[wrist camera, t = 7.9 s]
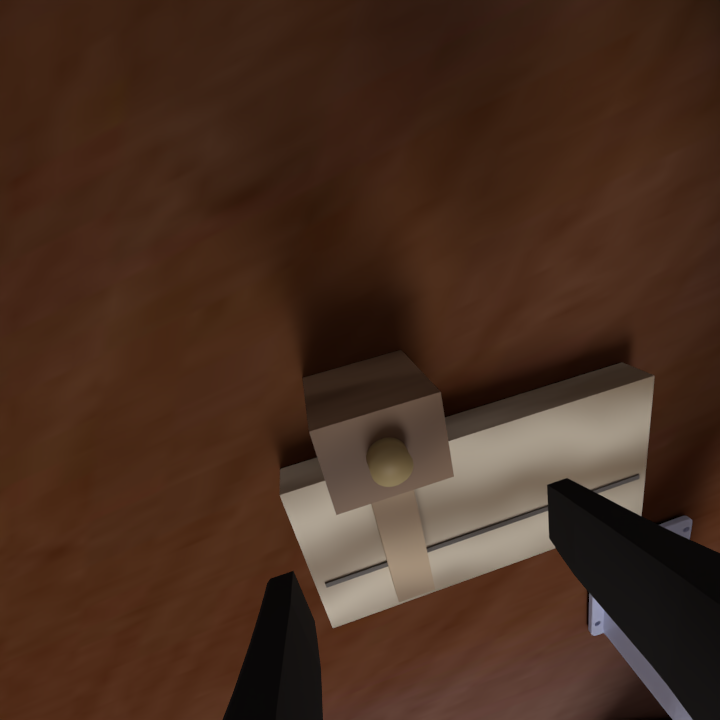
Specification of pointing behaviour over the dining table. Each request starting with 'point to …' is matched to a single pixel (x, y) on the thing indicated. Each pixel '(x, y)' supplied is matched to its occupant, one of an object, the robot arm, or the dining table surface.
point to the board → (483, 488)
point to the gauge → (382, 452)
